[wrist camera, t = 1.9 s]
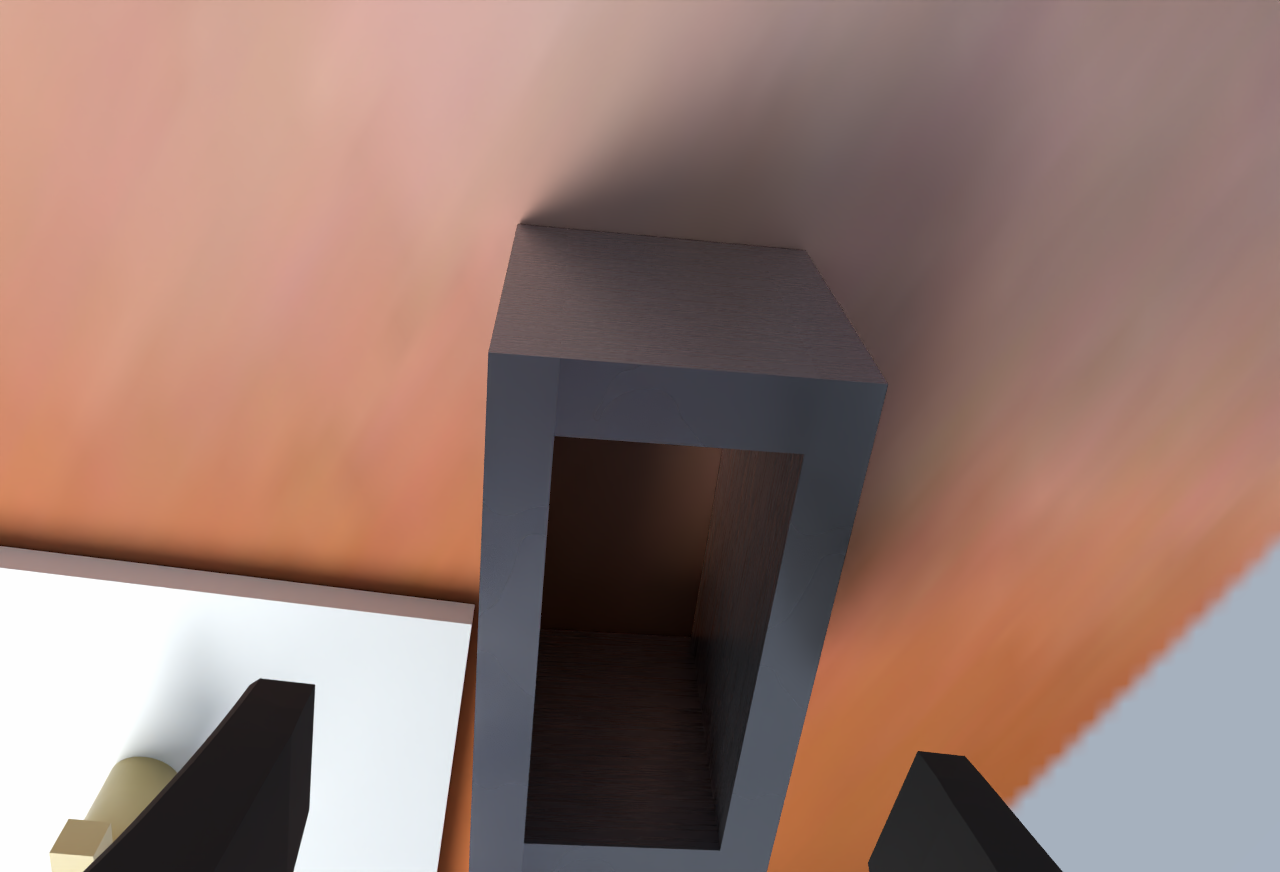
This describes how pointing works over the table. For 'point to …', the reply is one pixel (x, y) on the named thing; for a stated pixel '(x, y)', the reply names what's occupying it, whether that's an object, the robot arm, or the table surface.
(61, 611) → the keeper plate
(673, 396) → the grey open storage bin
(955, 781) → the robot arm
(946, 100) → the table surface
